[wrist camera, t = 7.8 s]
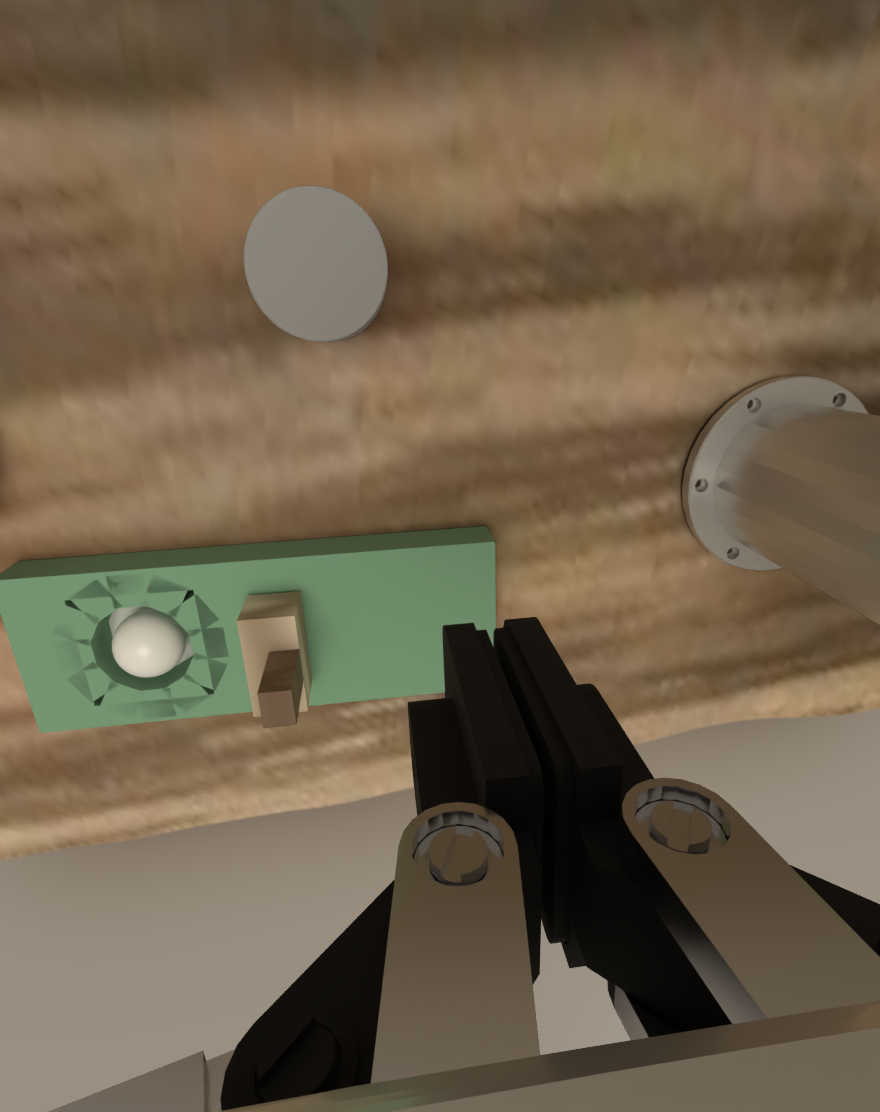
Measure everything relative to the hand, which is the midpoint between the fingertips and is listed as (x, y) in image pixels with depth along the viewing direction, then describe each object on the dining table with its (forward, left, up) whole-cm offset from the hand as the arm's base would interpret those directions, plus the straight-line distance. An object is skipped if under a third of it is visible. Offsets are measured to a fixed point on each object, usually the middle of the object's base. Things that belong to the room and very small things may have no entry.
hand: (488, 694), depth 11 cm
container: (+3, -8, -27) cm, 29 cm away
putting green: (+9, +11, -27) cm, 31 cm away
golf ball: (+16, +11, -25) cm, 31 cm away
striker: (+8, +11, -24) cm, 27 cm away
